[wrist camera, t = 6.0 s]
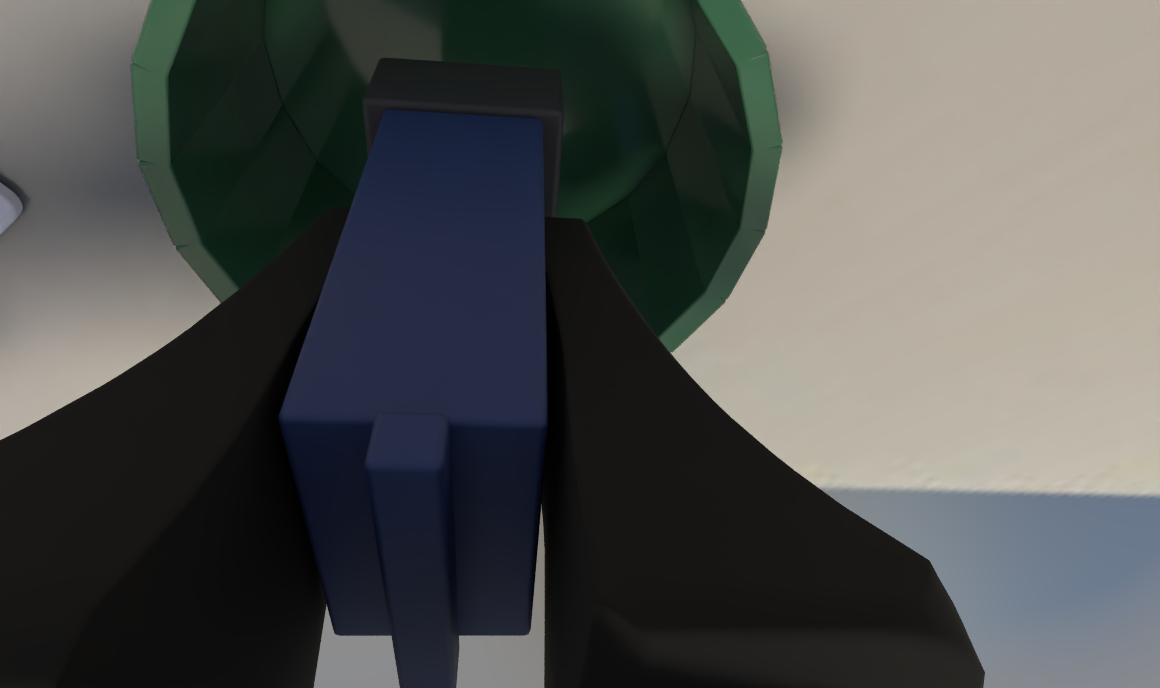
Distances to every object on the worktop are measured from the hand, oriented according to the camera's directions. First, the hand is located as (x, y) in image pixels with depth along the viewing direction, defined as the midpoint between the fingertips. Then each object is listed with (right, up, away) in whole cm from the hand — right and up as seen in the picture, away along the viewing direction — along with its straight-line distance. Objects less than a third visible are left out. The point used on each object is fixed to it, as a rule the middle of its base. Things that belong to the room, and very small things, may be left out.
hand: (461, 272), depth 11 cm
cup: (0, +5, +6) cm, 8 cm away
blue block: (0, +2, +2) cm, 3 cm away
